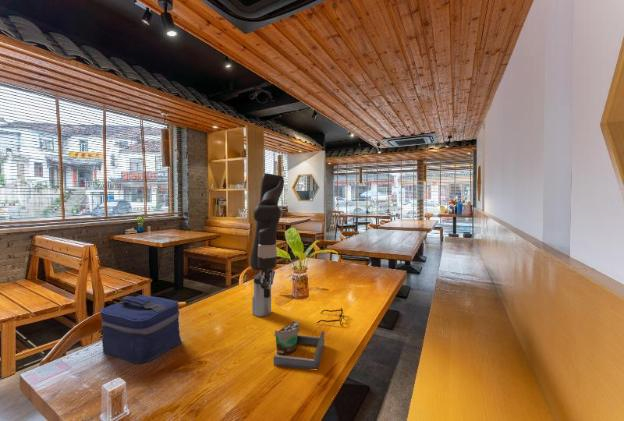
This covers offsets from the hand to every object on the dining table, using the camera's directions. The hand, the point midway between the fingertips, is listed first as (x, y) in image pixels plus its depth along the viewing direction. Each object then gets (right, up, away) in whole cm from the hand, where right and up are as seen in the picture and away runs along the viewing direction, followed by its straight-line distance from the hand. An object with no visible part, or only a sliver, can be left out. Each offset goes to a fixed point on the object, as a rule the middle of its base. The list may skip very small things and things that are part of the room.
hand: (267, 297), depth 112 cm
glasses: (+27, -22, +31) cm, 47 cm away
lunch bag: (-53, -22, +5) cm, 58 cm away
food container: (+9, -23, +1) cm, 25 cm away
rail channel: (+14, -23, -1) cm, 26 cm away
